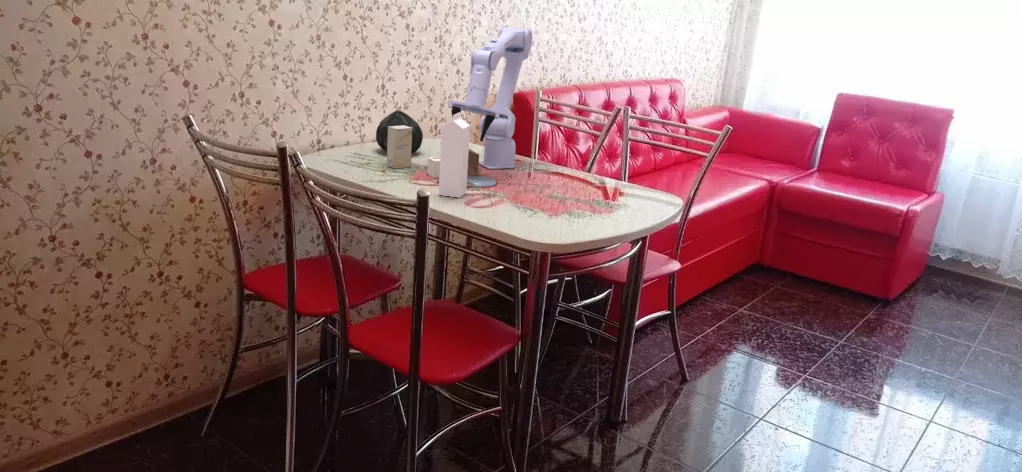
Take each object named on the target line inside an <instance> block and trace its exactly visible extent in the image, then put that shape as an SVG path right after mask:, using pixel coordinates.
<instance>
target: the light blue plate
mask: <svg viewBox="0 0 1022 472" xmlns="http://www.w3.org/2000/svg"><path fill="white" fill-rule="evenodd" d="M468 181H469V182H468ZM470 182H471V183H470ZM467 183H468V184H474V185H473V187H472V188H479V187H481V189H482V187H483V189H484V187H485V188H491V187H495V186H496V185H497V180H495V179H494V178H492V177H489V176H484V175H482V176H467ZM494 185H495V186H494Z"/></svg>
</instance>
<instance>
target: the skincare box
mask: <svg viewBox="0 0 1022 472" xmlns="http://www.w3.org/2000/svg"><path fill="white" fill-rule="evenodd" d="M411 148H412V127H408V126H405V125H402V126H388V144H387V151H386V155H387V156H386V166H387V167H389V168H392V169H402V168H403V169H404V168H410V167H411V166H412V154H411Z"/></svg>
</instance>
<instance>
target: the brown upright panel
mask: <svg viewBox="0 0 1022 472" xmlns="http://www.w3.org/2000/svg"><path fill="white" fill-rule="evenodd" d="M479 162H480V153H478V152H476V151H474V150H472V149H470V148H469V153H468V170H467V176H483V174H481V173H479V166H480V164H479Z"/></svg>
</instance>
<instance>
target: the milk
mask: <svg viewBox="0 0 1022 472" xmlns="http://www.w3.org/2000/svg"><path fill="white" fill-rule="evenodd" d="M470 129H471V125H470V124H469V123H468V121H467V122H466V121H465V120H464V119H463V118H461V113H460V112H459V113H457V114H455V115H453V117H452V121H449V122H447V123H446V124H443V125H441V135H440V136H441V137H440V139H441V141H440V154H439V155H440V156H439V157H440V176H439V179H438V180H439V183H438V196H439V195H443V196H442V197H445V196H451V197H450V198H452V197H459V198H458V199H461V198H462V197H463V196H465V195H466V194H467V188H466V187H467V170H468V153H469V149H470V148H469V147H470V135H471V134H470V133H471V130H470ZM465 193H466V194H465ZM462 195H463V196H462ZM461 196H462V197H461ZM460 197H461V198H460Z"/></svg>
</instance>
